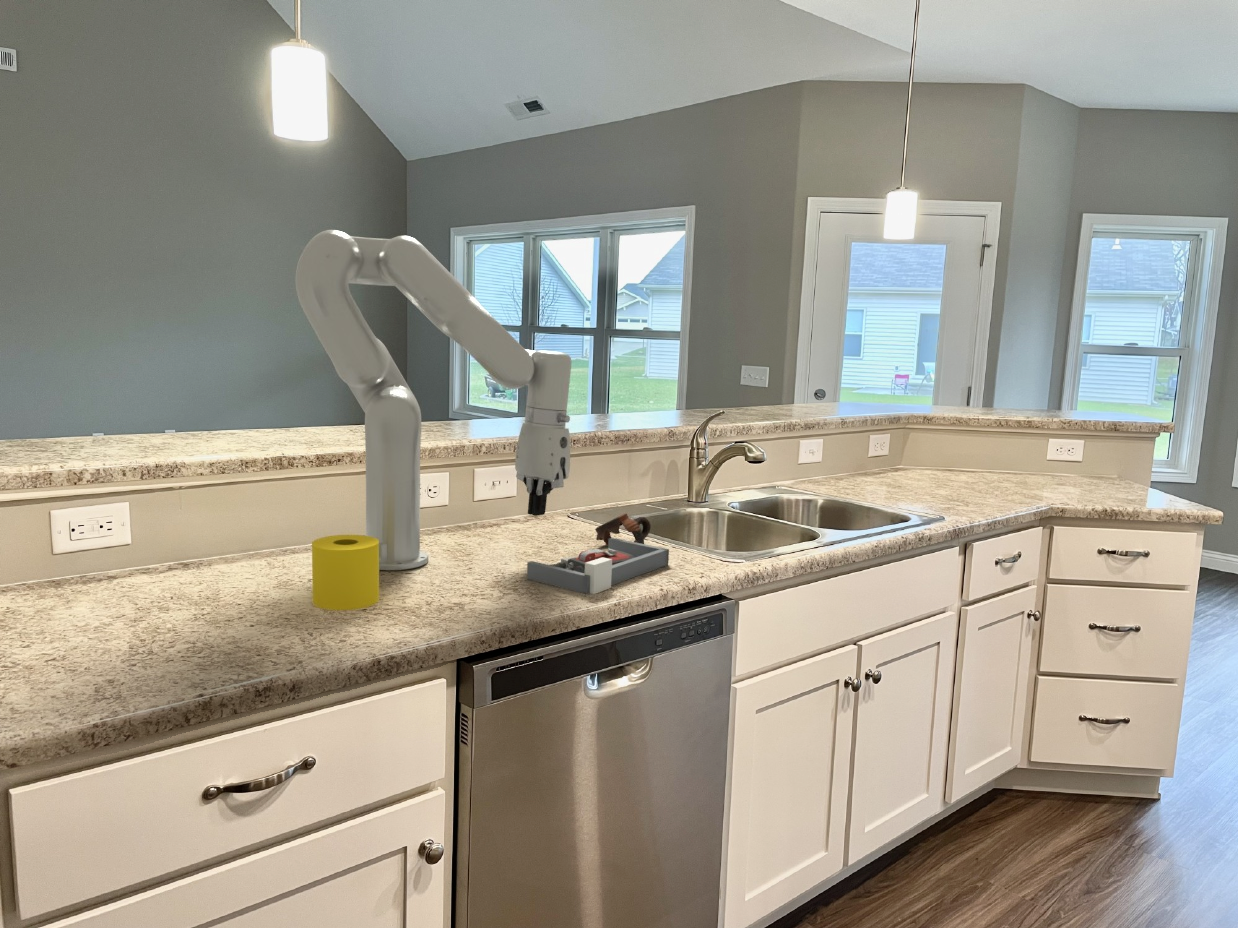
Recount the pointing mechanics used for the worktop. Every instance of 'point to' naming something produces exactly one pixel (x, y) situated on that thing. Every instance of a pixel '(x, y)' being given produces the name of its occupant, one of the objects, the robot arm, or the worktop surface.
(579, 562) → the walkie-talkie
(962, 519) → the worktop surface
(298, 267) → the robot arm
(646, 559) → the cradle
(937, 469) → the worktop surface
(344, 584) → the yellow toilet paper roll
